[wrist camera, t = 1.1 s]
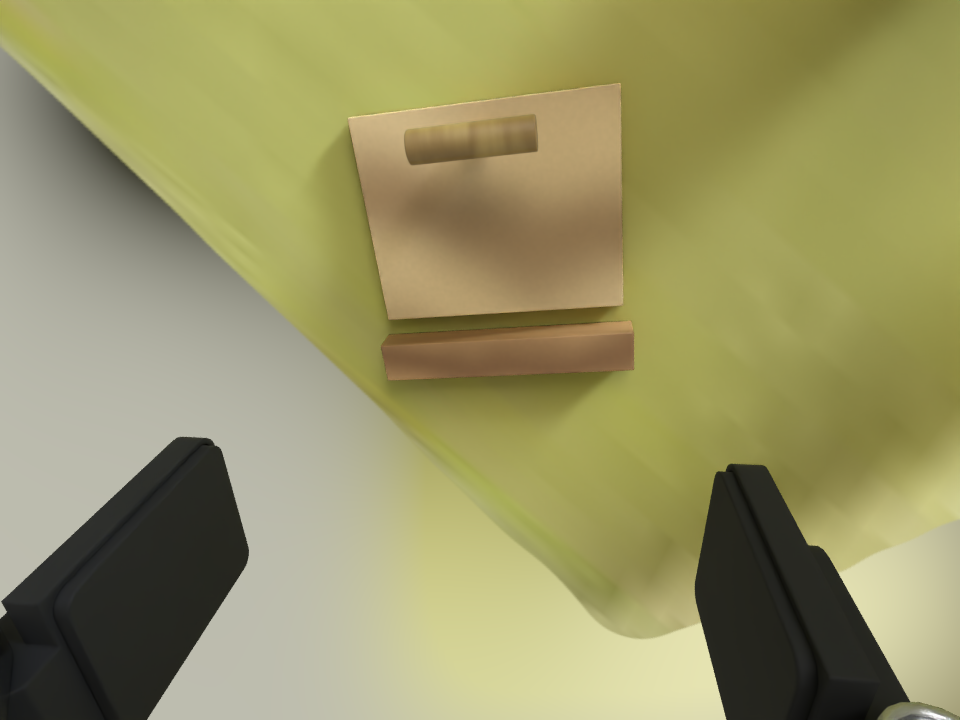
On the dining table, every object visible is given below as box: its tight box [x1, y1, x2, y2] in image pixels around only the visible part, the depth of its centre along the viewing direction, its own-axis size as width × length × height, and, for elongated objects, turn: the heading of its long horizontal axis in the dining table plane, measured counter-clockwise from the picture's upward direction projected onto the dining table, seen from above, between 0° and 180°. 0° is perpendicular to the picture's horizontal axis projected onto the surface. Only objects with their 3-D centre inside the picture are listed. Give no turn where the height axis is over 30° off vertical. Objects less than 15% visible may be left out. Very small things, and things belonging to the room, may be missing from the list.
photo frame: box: [348, 83, 623, 320], centre depth 30 cm, size 12×14×5 cm
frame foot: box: [381, 321, 634, 380], centre depth 35 cm, size 2×15×2 cm, turn 97°
